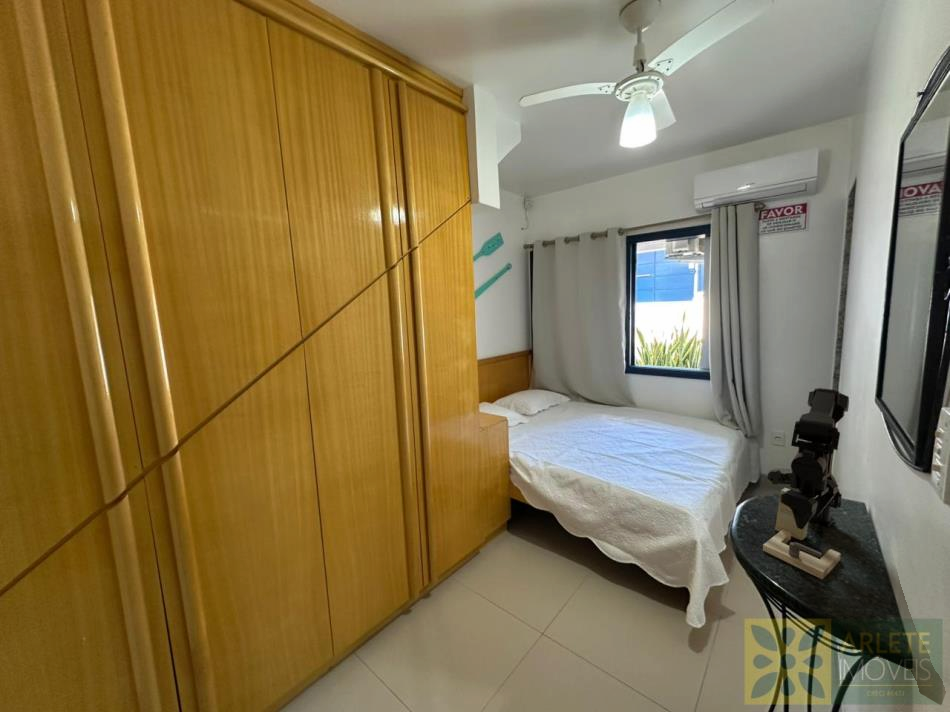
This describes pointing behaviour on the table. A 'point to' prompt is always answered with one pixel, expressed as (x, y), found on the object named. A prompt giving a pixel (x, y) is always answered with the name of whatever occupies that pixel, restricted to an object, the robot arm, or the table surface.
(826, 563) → the beige c-shaped bracket
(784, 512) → the skincare box
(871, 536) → the table surface
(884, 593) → the table surface
